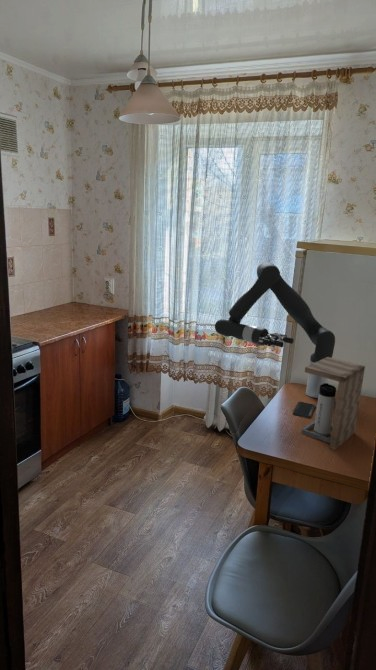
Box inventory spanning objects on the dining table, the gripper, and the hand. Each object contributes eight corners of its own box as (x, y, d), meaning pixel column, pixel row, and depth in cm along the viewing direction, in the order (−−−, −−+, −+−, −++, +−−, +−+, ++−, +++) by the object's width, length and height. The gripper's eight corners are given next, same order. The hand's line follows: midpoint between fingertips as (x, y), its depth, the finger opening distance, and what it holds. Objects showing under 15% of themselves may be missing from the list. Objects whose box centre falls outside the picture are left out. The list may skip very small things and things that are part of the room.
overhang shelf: (318, 420, 196) (327, 356, 189) (354, 432, 186) (365, 366, 179) (296, 435, 181) (305, 367, 174) (334, 450, 171) (345, 377, 164)
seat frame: (314, 423, 193) (314, 420, 192) (342, 433, 185) (342, 429, 185) (301, 432, 184) (301, 429, 183) (329, 443, 176) (330, 439, 176)
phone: (315, 404, 211) (310, 416, 198) (315, 407, 211) (309, 419, 198) (298, 401, 214) (291, 412, 201) (298, 403, 214) (291, 415, 201)
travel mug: (326, 429, 188) (333, 383, 183) (332, 436, 182) (339, 389, 177) (311, 428, 188) (317, 382, 183) (316, 436, 181) (322, 388, 176)
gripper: (247, 329, 197) (280, 337, 187) (264, 324, 207) (297, 331, 197) (245, 346, 199) (278, 354, 189) (263, 340, 209) (295, 348, 199)
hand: (288, 343), depth 193 cm, fingers open, 8 cm apart
